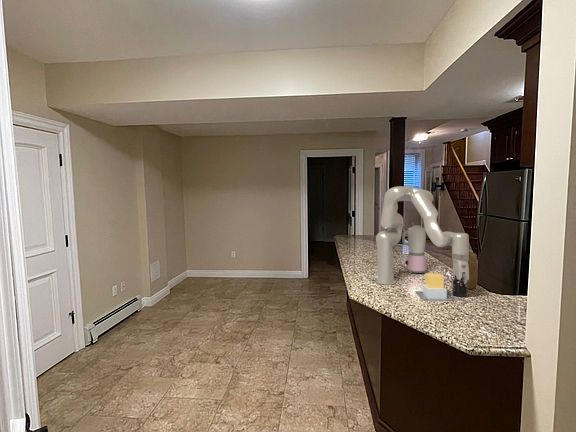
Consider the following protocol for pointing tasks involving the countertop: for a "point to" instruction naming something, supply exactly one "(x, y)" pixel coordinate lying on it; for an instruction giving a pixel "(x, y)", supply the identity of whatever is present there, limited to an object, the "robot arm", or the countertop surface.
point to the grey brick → (434, 292)
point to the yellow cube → (434, 280)
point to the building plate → (424, 298)
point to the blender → (415, 249)
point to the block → (472, 271)
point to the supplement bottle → (457, 288)
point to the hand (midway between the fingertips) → (459, 291)
